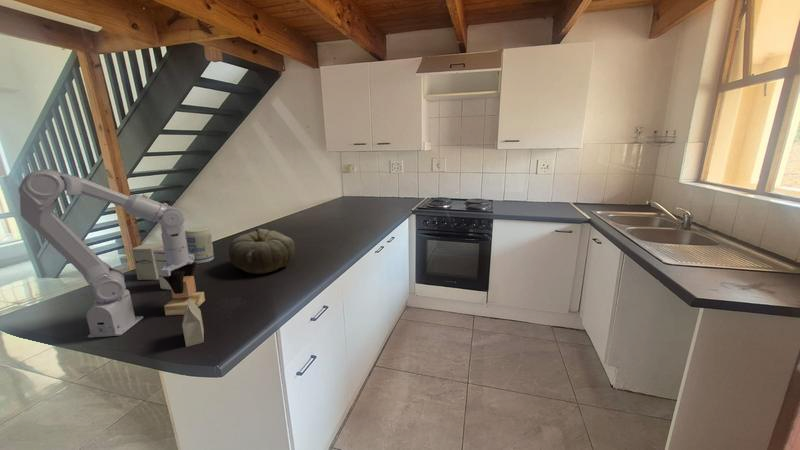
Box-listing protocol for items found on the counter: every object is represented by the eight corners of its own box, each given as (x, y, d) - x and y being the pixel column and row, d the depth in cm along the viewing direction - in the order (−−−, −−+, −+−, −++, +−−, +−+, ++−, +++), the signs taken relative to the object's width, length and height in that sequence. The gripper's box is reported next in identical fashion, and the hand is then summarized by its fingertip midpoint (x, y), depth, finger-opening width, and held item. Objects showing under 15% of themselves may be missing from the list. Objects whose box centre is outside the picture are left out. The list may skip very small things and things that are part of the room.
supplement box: (137, 280, 119) (130, 248, 116) (151, 273, 126) (145, 243, 124) (156, 280, 119) (150, 248, 117) (170, 272, 127) (164, 242, 124)
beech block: (191, 313, 94) (189, 304, 93) (165, 315, 93) (163, 306, 93) (205, 300, 103) (203, 291, 102) (182, 301, 102) (180, 293, 101)
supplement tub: (188, 265, 134) (182, 232, 131) (190, 259, 142) (185, 227, 139) (214, 262, 139) (209, 229, 135) (215, 256, 147) (210, 225, 143)
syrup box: (173, 290, 111) (166, 250, 107) (160, 288, 112) (152, 249, 108) (187, 283, 116) (181, 246, 113) (174, 282, 117) (167, 245, 114)
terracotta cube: (188, 297, 95) (186, 281, 94) (172, 297, 95) (169, 282, 94) (196, 290, 100) (193, 275, 98) (180, 291, 99) (178, 276, 98)
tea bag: (203, 329, 86) (198, 296, 84) (203, 342, 80) (197, 306, 78) (187, 333, 84) (181, 299, 82) (186, 346, 78) (179, 310, 76)
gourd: (263, 249, 148) (261, 214, 141) (308, 263, 141) (308, 227, 134) (217, 273, 126) (212, 233, 119) (268, 291, 119) (266, 250, 112)
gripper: (176, 254, 87) (184, 299, 90) (201, 240, 101) (208, 279, 104) (148, 255, 86) (158, 301, 89) (178, 241, 100) (185, 280, 103)
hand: (183, 289), depth 97 cm, fingers closed on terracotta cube, 4 cm apart
